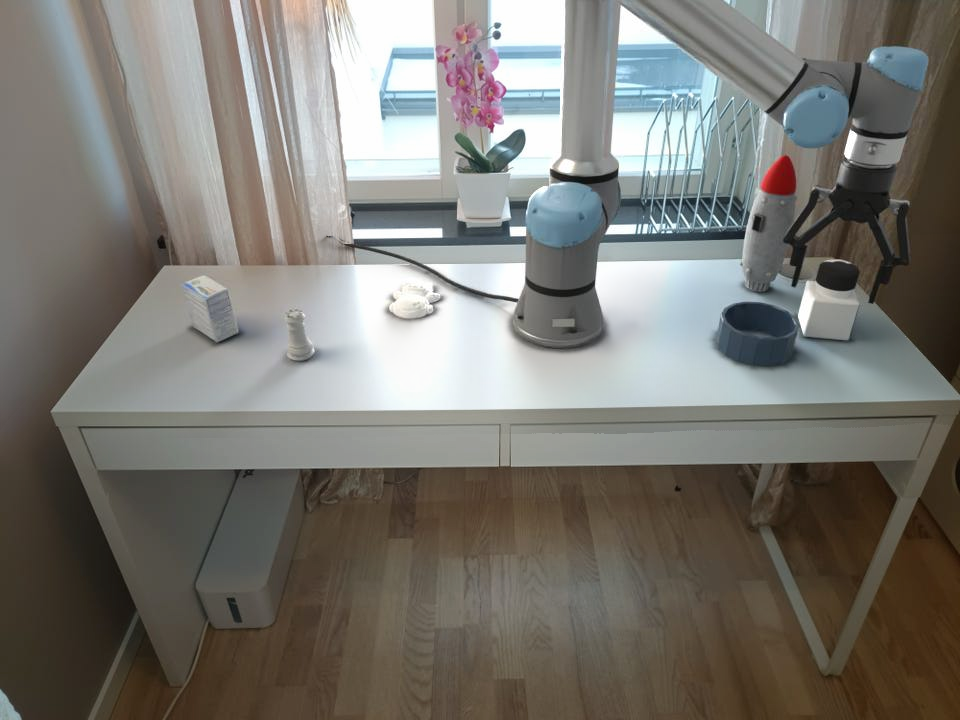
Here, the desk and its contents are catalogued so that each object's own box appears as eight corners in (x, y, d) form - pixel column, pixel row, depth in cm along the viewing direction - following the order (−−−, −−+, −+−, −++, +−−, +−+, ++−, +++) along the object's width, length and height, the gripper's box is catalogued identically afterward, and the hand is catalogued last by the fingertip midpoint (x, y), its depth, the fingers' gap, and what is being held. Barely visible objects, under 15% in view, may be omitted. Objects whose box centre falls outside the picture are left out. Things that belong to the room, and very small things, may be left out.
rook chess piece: (291, 365, 118) (283, 322, 113) (283, 351, 121) (276, 309, 117) (318, 357, 120) (311, 314, 115) (310, 344, 123) (303, 302, 118)
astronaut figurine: (446, 290, 139) (445, 276, 137) (428, 322, 129) (427, 307, 128) (401, 285, 141) (400, 271, 139) (380, 316, 131) (379, 301, 129)
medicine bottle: (849, 341, 122) (869, 276, 115) (803, 337, 123) (820, 272, 117) (840, 319, 128) (859, 256, 121) (796, 316, 129) (813, 253, 123)
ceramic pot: (708, 354, 119) (713, 327, 117) (725, 321, 128) (731, 295, 125) (784, 373, 115) (791, 346, 112) (797, 338, 123) (804, 311, 120)
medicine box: (239, 333, 126) (229, 288, 121) (216, 344, 123) (204, 298, 119) (215, 317, 131) (204, 273, 126) (192, 327, 128) (180, 282, 123)
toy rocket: (724, 285, 139) (750, 154, 125) (752, 273, 143) (780, 144, 129) (759, 301, 134) (790, 166, 120) (786, 288, 138) (819, 156, 124)
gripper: (782, 156, 112) (754, 285, 124) (960, 181, 102) (910, 318, 114) (791, 142, 117) (763, 267, 129) (961, 165, 108) (913, 298, 120)
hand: (832, 291), depth 122 cm, fingers open, 11 cm apart
